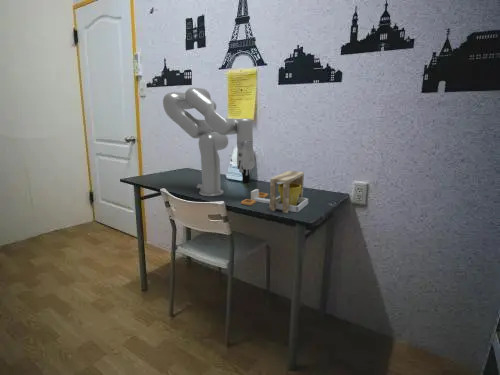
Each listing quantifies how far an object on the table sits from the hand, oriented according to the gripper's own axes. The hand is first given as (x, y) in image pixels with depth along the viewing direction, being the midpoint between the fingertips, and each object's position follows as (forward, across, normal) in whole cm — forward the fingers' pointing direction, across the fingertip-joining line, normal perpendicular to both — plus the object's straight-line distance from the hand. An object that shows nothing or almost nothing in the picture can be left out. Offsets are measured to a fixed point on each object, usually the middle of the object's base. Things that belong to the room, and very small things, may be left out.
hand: (246, 182), depth 146 cm
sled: (+9, 0, -16) cm, 19 cm away
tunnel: (+9, 0, -21) cm, 23 cm away
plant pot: (+9, 0, -22) cm, 24 cm away
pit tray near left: (+8, +7, -5) cm, 12 cm away
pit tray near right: (+8, -7, -5) cm, 12 cm away
